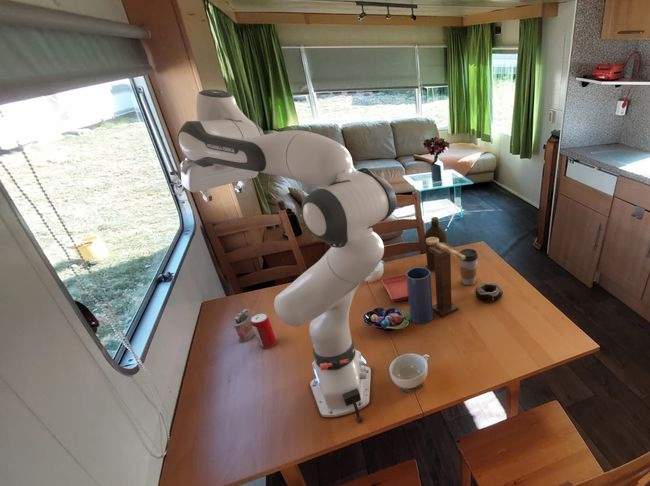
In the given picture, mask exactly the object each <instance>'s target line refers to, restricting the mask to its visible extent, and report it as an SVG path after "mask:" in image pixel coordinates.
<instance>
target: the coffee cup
mask: <svg viewBox="0 0 650 486" xmlns="http://www.w3.org/2000/svg"><path fill="white" fill-rule="evenodd" d="M459 253H461V254H463V255H465V256H466V259H464V260H461V259H459V271H460V277H461V278H460V280H461V283H462V284H463V285H464V286H473V285H474V284H475V283H476V281H477V271H478V259H479V256H478V255H479V254H478V252H477V250H476V249H474V248H464V249H462V250H460V252H459Z"/></svg>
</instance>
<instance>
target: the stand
mask: <svg viewBox="0 0 650 486" xmlns="http://www.w3.org/2000/svg"><path fill="white" fill-rule="evenodd" d="M442 244H444V245H446V246H448V247H450V248H451V249H453V250H455V251H456V247H453V245H450V244H448V243H447V244H446V243H444V242H442ZM429 251H430V252H432V253H433V254H434V264H435V271H434V281H435V282H434V283H435V298H436V299H435V300H436V302H435V304H432V308H433V313H435V314H437V315H438V316H439V317H441V318H445V317H448V316H449V315H451V314H453V313H455V312H457V311H459V307H458V306H457V305H455V304H454V303H452V302H453V301H452V300H453V299H452V269H451V268H452V265H451V261H452V260H451V254H450V253H448V252H446V251H444V250H442V249H441V248H439V247H437V246H435V245H434V246H431V247H429Z"/></svg>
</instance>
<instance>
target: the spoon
mask: <svg viewBox="0 0 650 486" xmlns="http://www.w3.org/2000/svg"><path fill="white" fill-rule="evenodd" d="M426 244H427V245H435V246H437V247H439V248H441V249H442V250H444V251H446V252H448V253H450V256H451V255H452V256H453V257H455V258H457V259H459V260H460V259H461V260H464V259H466V256H465V255H463V254H461V253H460V252H459V251H457V250H456V249H455V250H453V249H451V248H450V247H448V246H446V245H444V244H442V243H440V242H439V239H438V238H437V237H429V238H427V239H426Z"/></svg>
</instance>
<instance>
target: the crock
mask: <svg viewBox="0 0 650 486" xmlns="http://www.w3.org/2000/svg"><path fill="white" fill-rule="evenodd" d="M405 274H406V282H407V292H408V299H407V300H408V301H407V302H408V311H409V319H410V321H411V322H413V323H415V324H421V325H422V324H426V323H429V322H431V321H432V320H433V317H434V311H433V308H432V306H433V294H432V290H431V288H432V277H431V270H430V269H428V268H427V267H423V266H422V267H421V266H418V267H413V268H410V269H408V270H406V272H405ZM410 317H411V318H410Z"/></svg>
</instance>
